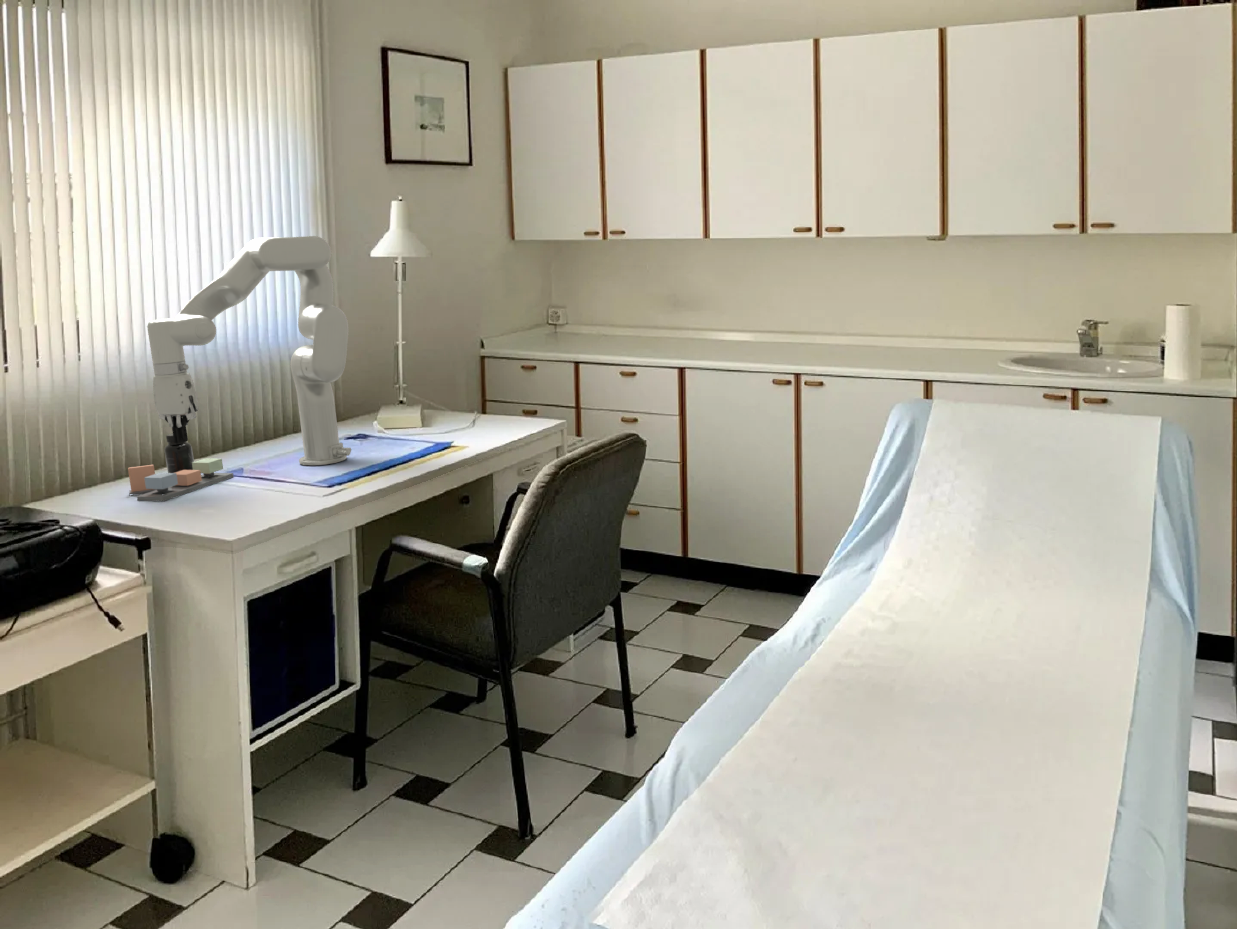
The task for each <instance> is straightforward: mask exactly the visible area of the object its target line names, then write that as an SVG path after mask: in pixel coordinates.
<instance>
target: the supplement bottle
mask: <svg viewBox="0 0 1237 929" xmlns="http://www.w3.org/2000/svg"><path fill="white" fill-rule="evenodd" d="M165 438H166V443H167V445H165V446H164V448H163V449H164V450H163V451H164V457H165V462H166V468H167V469H166V470H167V473H175V472H178V471H182V470H193V467H192V462H195V459H194V453H193V447H192V444H191V443H190V442H188V441H186V442H183V443H174V438H173V432H172V433H169V434H166V435H165Z"/></svg>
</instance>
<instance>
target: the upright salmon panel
mask: <svg viewBox="0 0 1237 929" xmlns="http://www.w3.org/2000/svg"><path fill="white" fill-rule="evenodd" d="M127 471H128V472H127V473H128V477H129V485H130V490H129V492H128V493H129V494H139V495H143V494H146V493H149V492H152V491H155V490H157V489H146V485H145V477H148V476H151V475H154V474H156V472H155V471H156V470H155V466H154V464H149V465H148V464H147V465H141V466H139V465H138V466H131V467H127Z"/></svg>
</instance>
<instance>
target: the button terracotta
mask: <svg viewBox="0 0 1237 929" xmlns="http://www.w3.org/2000/svg"><path fill="white" fill-rule="evenodd" d="M175 473H176V474H177V481H178V484H177V485H180V486H190V485H192V484H194V483H197V482H200V481H202V479H201V475H202V473H201V472H200V470H182V471H178V472H175Z"/></svg>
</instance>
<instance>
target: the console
mask: <svg viewBox="0 0 1237 929" xmlns="http://www.w3.org/2000/svg"><path fill="white" fill-rule="evenodd" d="M234 476H235V475H234V472H214V475H211V476H204V475H203V474H201V479H202V481H200V482H197V483H194V484H192V485H190V486H180V485H174V486H171V487H168V490H167V491H162V492H157V490H155V491H152V492H149V493H146V494H139V495H136V500H137V501H139V500H144V501H146V502H147V501H148V502H165V501H168V500H170V499H175V498H177V497H180V496H183V495H186V494H189V493H191V492H195V491H197V490H200V489H202V488H203V489H204V488H206V487H208V486H209V487H210V486H212V485H215V484H217V483H220V482H223V481H226V480H228V479H232V478H234Z"/></svg>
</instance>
